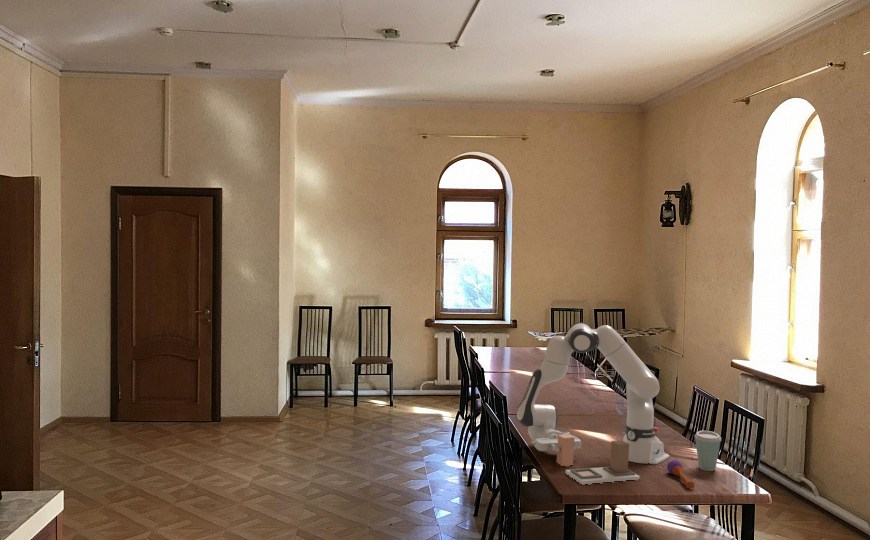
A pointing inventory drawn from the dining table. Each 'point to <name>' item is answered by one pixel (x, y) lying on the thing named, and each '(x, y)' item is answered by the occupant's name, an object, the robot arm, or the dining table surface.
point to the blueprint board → (607, 468)
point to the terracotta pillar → (565, 450)
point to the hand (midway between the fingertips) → (566, 449)
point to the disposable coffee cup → (707, 449)
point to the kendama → (679, 472)
